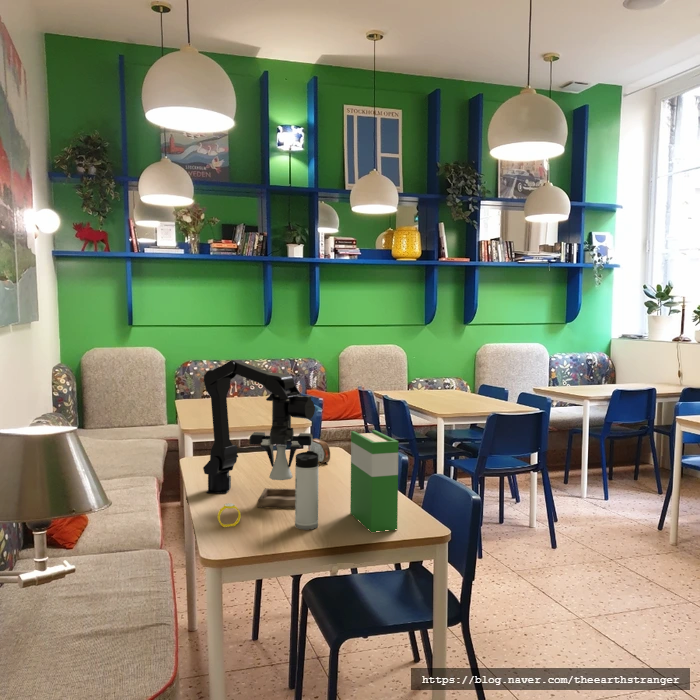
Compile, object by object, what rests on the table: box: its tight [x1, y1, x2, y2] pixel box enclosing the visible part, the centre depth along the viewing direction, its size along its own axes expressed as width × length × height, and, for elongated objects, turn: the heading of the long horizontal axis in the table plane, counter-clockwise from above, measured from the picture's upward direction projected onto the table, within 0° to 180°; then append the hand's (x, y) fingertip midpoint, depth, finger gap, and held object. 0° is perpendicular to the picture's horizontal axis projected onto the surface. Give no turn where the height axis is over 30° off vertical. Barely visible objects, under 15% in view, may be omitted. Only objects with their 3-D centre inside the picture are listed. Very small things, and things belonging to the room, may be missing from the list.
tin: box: [307, 437, 331, 464], centre depth 248 cm, size 15×3×8 cm, turn 30°
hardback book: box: [349, 429, 399, 533], centre depth 173 cm, size 18×7×24 cm, turn 18°
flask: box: [268, 444, 293, 481], centre depth 191 cm, size 7×7×10 cm
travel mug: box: [294, 450, 320, 531], centre depth 169 cm, size 6×7×20 cm
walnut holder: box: [257, 487, 295, 509], centre depth 192 cm, size 12×12×2 cm
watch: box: [217, 503, 242, 528], centre depth 169 cm, size 6×3×6 cm, turn 111°
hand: (281, 466), depth 191 cm, fingers closed on flask, 5 cm apart
